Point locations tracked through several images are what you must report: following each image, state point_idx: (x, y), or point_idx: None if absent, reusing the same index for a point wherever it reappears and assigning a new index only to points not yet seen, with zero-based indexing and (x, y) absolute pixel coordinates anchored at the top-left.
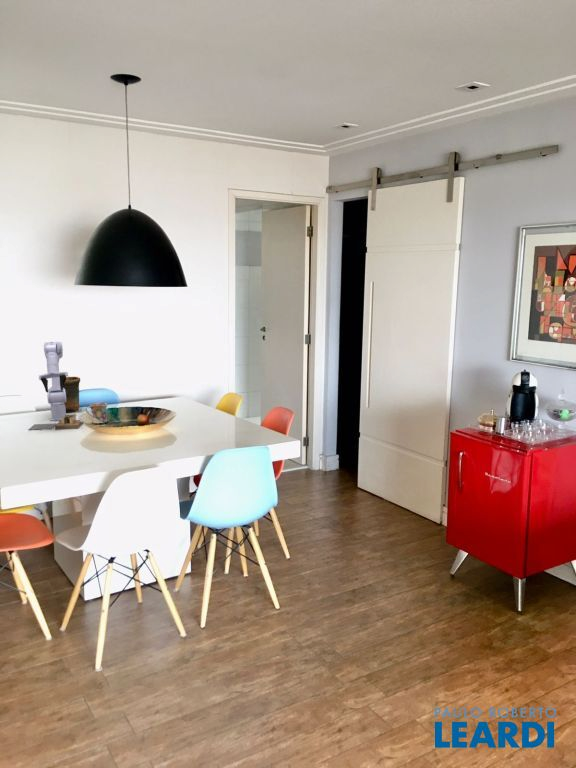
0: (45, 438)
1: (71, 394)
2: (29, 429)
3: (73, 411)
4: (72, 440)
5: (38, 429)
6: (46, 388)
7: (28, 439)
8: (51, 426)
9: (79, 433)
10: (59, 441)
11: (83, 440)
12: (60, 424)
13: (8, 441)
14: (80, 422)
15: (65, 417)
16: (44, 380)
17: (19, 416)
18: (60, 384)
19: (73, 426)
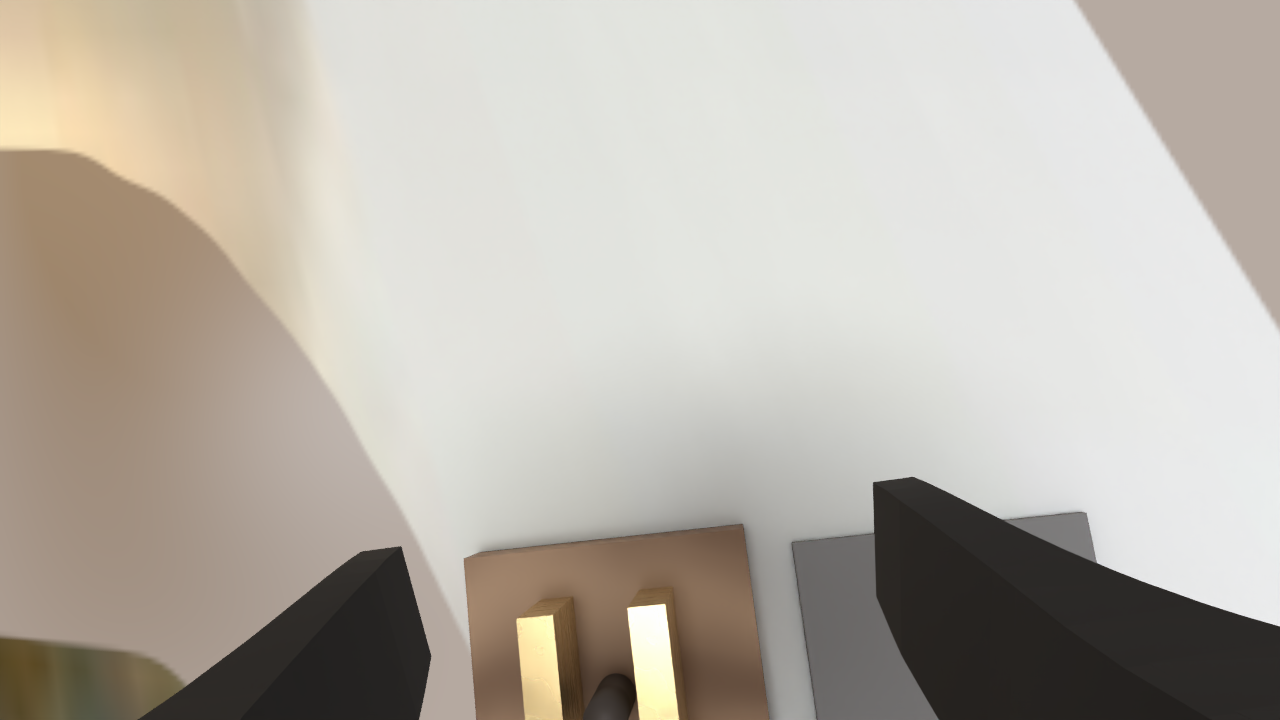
0: (694, 131)
1: None
2: (1070, 514)
3: None
4: (394, 59)
5: None
6: (917, 513)
7: (866, 92)
8: (840, 659)
9: (404, 326)
10: (507, 23)
11: (293, 60)
12: (695, 601)
13: (1057, 13)
14: (477, 708)
15: (638, 696)
16: (1252, 704)
17: None
18: (309, 630)
19: (522, 549)
